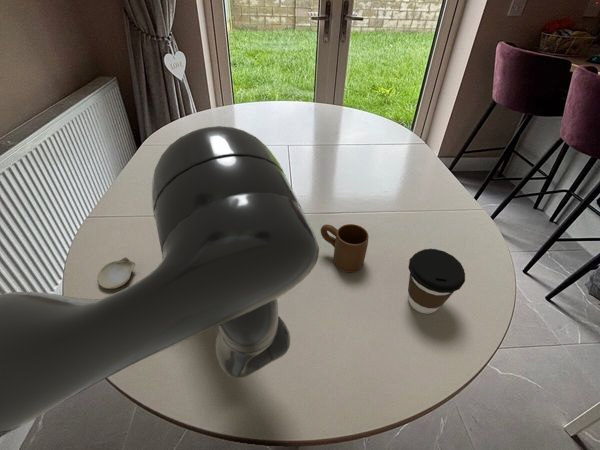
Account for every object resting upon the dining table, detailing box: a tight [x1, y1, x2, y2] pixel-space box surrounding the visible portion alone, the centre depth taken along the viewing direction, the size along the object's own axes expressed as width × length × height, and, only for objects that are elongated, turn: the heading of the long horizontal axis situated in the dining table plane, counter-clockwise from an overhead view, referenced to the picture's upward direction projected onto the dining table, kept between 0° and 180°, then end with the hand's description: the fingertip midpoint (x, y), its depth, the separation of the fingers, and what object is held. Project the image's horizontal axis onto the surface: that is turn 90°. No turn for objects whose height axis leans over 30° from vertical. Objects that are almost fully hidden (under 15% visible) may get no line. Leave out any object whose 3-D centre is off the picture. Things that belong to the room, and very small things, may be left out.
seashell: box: [97, 256, 136, 290], centre depth 77 cm, size 8×3×8 cm
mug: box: [320, 223, 370, 273], centre depth 81 cm, size 12×8×9 cm, turn 59°
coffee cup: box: [407, 248, 466, 315], centre depth 70 cm, size 11×11×12 cm
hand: (190, 214), depth 70 cm, fingers closed
